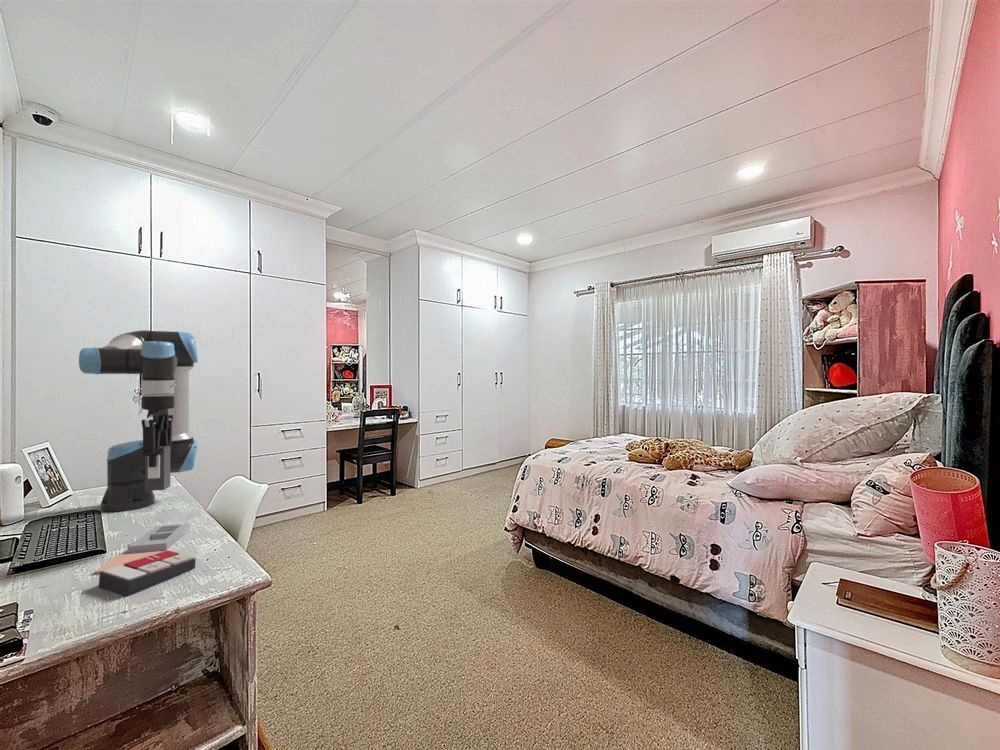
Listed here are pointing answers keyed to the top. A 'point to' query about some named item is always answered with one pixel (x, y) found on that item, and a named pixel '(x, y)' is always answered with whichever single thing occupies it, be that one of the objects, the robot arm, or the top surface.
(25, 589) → the top surface
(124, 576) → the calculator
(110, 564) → the mat
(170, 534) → the grey flat block
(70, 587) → the top surface
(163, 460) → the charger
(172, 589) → the top surface
